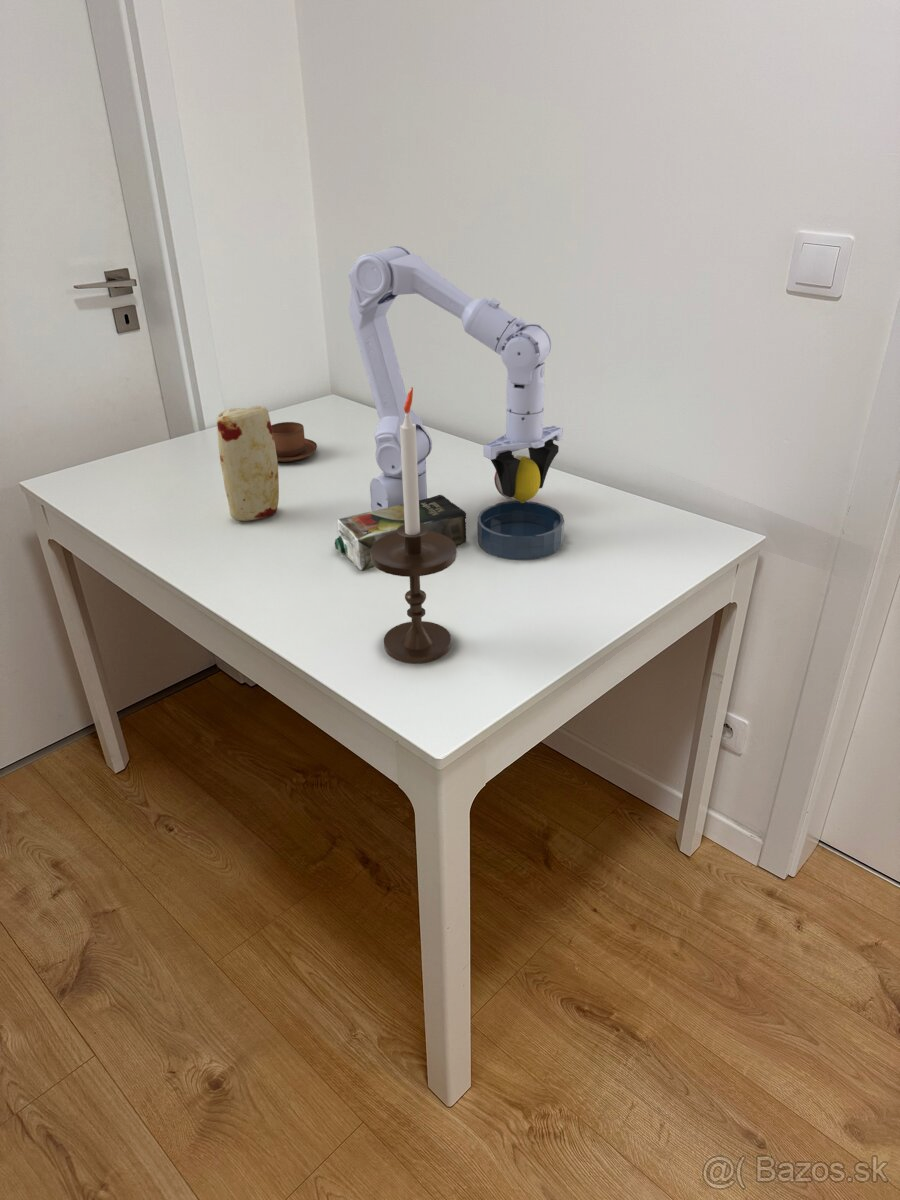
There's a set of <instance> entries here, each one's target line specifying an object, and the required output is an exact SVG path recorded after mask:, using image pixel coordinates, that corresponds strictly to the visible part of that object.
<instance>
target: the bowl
mask: <svg viewBox="0 0 900 1200" xmlns="http://www.w3.org/2000/svg"><path fill="white" fill-rule="evenodd" d="M564 538H565V517H564V514H562V513H561V511H559V510H558V509H557V508H555V507H553V506H550V505H548V504H546V503H545V504H544V503H541V502H537V501H529V500H527V501H526V502H524V503H521V502H520V501H513V500H509V501H503V502H498V503H494V504H492V505H489V506H487V507H485V508H483V509H482V510H481V511H480V512H479V513H478V515H477V516H476V541H477V544H478V547H479V548H480V549H481V550H482V551H483V552H485V553H486V554H489V555H491V556H493V557H495V558H500V559H505V560H511V561H530V560H539V559H543V558H546V557H549V556H552V555H553V554H555V553H557V552H558V551H560V549H561V548H562V547H563V544H564V540H565V539H564Z"/></svg>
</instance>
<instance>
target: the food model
mask: <svg viewBox="0 0 900 1200" xmlns="http://www.w3.org/2000/svg"><path fill="white" fill-rule="evenodd" d="M271 425H272V422H271V418H270V414H269V410H268V409H267V407H266V406H262V405H256V406H250V407H236V408H229V409H226V410H223V411H221V412H220V413H219V414H218V415H217V417H216V430H217V444H218V452H219V453H218V454H219V462H220V466H221V472H222V478H223V485H224V491H225V495H226V499H227V503H228V507H229V508H228V509H229V510H228V511H229V516H230V517H231V519H234V520H237V521H241V522H242V521H243V522H245V521H254V520H261V519H263V518H269V517H272V516H274V515H275V514H276V513H277V510H278V508H279V499H280V497H279V496H280V484H279V462H278V461H277V455H276V448H275V442H274V436H273V431H272V427H271Z"/></svg>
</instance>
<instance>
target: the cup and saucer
mask: <svg viewBox="0 0 900 1200" xmlns="http://www.w3.org/2000/svg"><path fill="white" fill-rule="evenodd" d="M271 427H272V431H273V436H274V442H275V448H276V455H277V462H278V463H280V462H281V463H287V462H290V463H291V462H296V461H301V460H304V459H306V458H308V457H311V456H312V455H313V454H314V453H315V452H316V451H317V449H318V443H316V442H315V441H314V440H313V439H310V438H306V437H305V429H304V427H305V426H304V425H303V424H302V423H300V422H296V421H283V422H277V423H274V424H271Z"/></svg>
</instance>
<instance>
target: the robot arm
mask: <svg viewBox="0 0 900 1200" xmlns="http://www.w3.org/2000/svg"><path fill="white" fill-rule="evenodd" d="M348 279H349V283H350V296H349V303H348V304H349V305H348V313H349V317H350V320H351V324H352V327H353V332H354V334H355V335H354V336H355V339H356V342H357V345H358V349H359V353H360V356H361V359H362V363H363V366H364V370H365V374H366V378H367V380H368V384H369V388H370V391H371V394H372V398H373V401H374V405H375V408H376V412H377V416H378V423H377V427H376V430H375V432H374V440H375V444H376V445H375V446H376V448H375V461H376V464H377V466H378V468H379V469H380V470H381V471H382V473H381V474H379V475H377V476H376V477H374V478H372V479H371V481H370V484H369V493H370V507H371V512H372V511H376V510H379V509H385V508H389V507H393V506H396V505H400V504H404V499H403V479H402V459H401V439H400V425H402V424H403V423H404V419H405V414H406V413H405V411H404V407H405V402H406V401H407V395H408V393H407V391H406V386H405V383H404V380H403V379H404V378H403V376H402V372H401V368H400V364H399V361H398V357H397V353H396V350H395V345H394V341H393V338H392V333H391V330H390V326H389V323H388V319H387V312H389V309H390V308H391V306H392V304H393V303H394V301H395V299H396V297H398V296H401V295H415V294H416V295H419V296H421V297H422V298H424V299H425V300H428V301H429V302H431V303H433V304H434V305H436V306H438V307H439V308H441V309H443V310H444V311H446V312H448V313H450V314H451V315H453V316H455V317H456V318H457V319H460V320H461V323H462V326H463V330H464V332H465V333H467V334H468V335H469V336H471V337H472V338H474V339H476V340H477V341H478V342H480V343H482V344H483V345H484V346H485V347H487V348H488V349H490V350H491V351H493V352H494V353H496V354H498V355H499V356H500V359H501V361H502V363H503V365H504V366H505V368H506V371H507V373H506V374H507V375H506V404H505V405H506V406H505V407H506V409H505V434H503V435H501V436H499V437H498V438H495V439H494V440H492V441H489V442H488V443H487V442H486V443H485V444H483V457H485V458H486V459H489V460H490V462H491V463H492V465H493V467H494V470H495V472H496V471H497V474H498V477H499V480H500V484H501V488H502V492H503V494H504V495H506V496H508V497H510V498H511V497H514V493H515V481H516V474H517V470H518V467H519V464H520V462H521V461H520V460H519V459H516V458H514V456H515V454H513V453H514V452H517V451H521V450H524V449H527V450H528V454H529V457H530V459H531V460H533V461H534V462H535V463H536V465H537V466H538V468H539V472H540V487H539V490H541V489H543V488H544V483H545V481H546V477H547V475H548V471H549V469H550V467H551V464H552V462H553V461H554V459H555V457H556V456H557V455H558V454H559V450H560V449H559V447H560V446H559V445H558V444H557V443H554V441H556V442H560V441H563V435H564V433H563V432H564V429H563V428H562V427H560V426H558V425H551V426H544V409H545V406H544V405H545V386H546V385H545V383H546V379H545V377H546V375H545V374H546V373H545V372H546V362H545V360H546V359H547V358H548V356H549V355H550V353H551V350H552V341H551V337H550V334H549V333H548V332H547V331H546V330H545V329H544V328H543V327H542V326H541V325H540V324H537V323H529V324H528V323H527V321H526V320H525V318H522V317H520V318H517V317H516V316H514V315H513V314H511V313H510V312H508V311H507V310H506V309H504V308H502V307H501V306H500V304H501V302H500V301H499V300H497V299H496V298H490V299H489V298H487V297H481V298H478V299H474V298H472V297H471V296H470V295H468V294H467V293H466V292H465V291H464V290H462V289H460V288H459V287H458V286H457V285H455V284H453V283H452V282H451V281H450V280H449V279H447V278H445V277H444V276H443V275H442V274H440V273H439V272H438V271H436V269H434V268H432V267H431V266H430V265H428V264H427V263H426V262H425V260H424V259H423V258H422V257H421V256H420V255H418V254H415V253H414V252H413V253H412V252H411V251H410V250H409V249H408V248H406V247H404V246H402V245H392V246H389V247H388V248H385V249H382V250H379V251H374V252H371V253H364V254H362V255H361V256H359V257H358V258H357V259H356V261H355V263H354V265H353V266H352V268H351V269H350V271H349V273H348ZM526 323H527V324H526ZM408 414H410V419H411V422H412V424H415V425H416V443H417V468H418V493H419V500H423V499H427V498H428V483H427V479H428V478H427V458H428V456H429V455H430V454H431V452H432V449H433V441H432V438H431V435H430V434H429V432H428V431H427V429H426V428H425V427H424V425H423V422H422V418H421V416H420V415H418V414H417V413H416V412H414V411H413V410H412V409H411V408H410V412H409V413H408Z"/></svg>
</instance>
